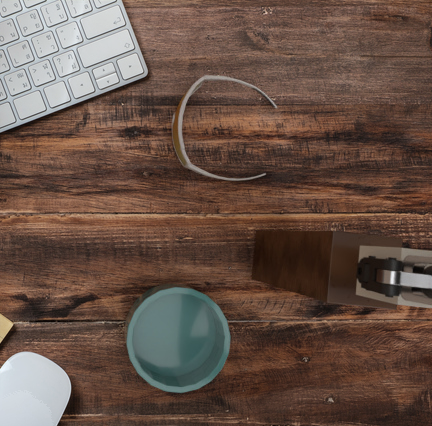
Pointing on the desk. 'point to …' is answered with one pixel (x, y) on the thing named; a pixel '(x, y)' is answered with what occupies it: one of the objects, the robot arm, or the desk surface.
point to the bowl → (176, 338)
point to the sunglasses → (179, 117)
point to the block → (400, 255)
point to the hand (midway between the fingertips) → (391, 273)
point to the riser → (316, 263)
